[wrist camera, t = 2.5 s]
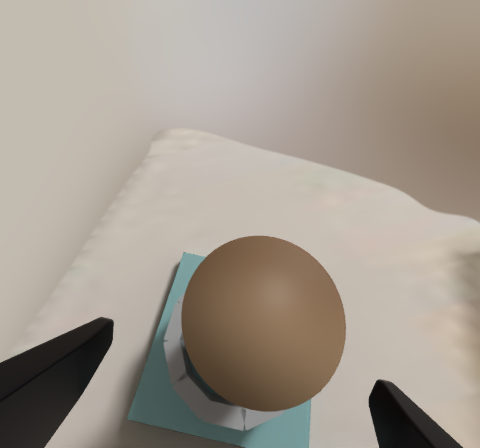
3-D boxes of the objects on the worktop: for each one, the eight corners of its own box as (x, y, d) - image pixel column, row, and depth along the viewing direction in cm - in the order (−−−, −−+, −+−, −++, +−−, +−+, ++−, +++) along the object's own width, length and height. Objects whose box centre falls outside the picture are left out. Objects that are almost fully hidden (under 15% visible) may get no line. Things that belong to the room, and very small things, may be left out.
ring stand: (302, 455, 14) (331, 488, 10) (132, 415, 14) (104, 434, 11) (311, 284, 19) (332, 267, 15) (185, 257, 19) (177, 234, 15)
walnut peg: (261, 383, 14) (347, 432, 5) (196, 368, 15) (155, 387, 5) (270, 314, 16) (344, 252, 7) (212, 301, 17) (206, 222, 7)
